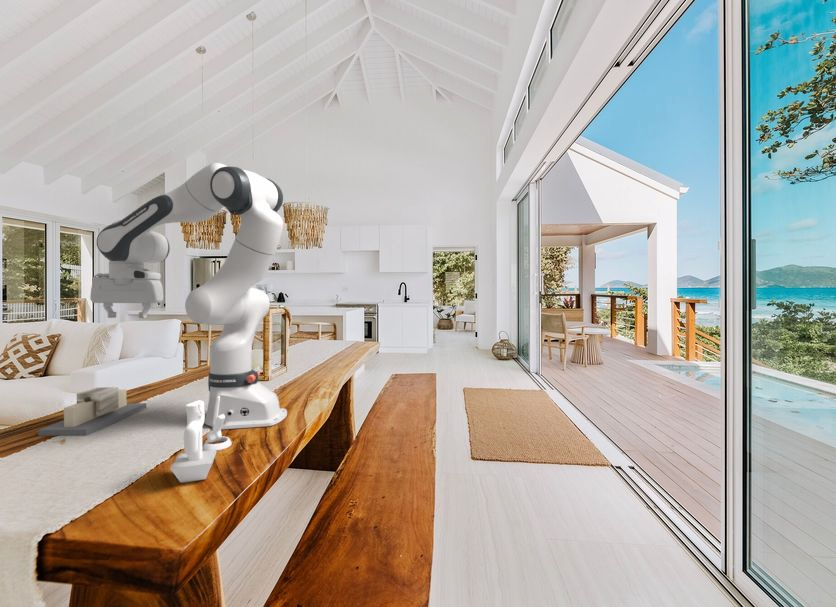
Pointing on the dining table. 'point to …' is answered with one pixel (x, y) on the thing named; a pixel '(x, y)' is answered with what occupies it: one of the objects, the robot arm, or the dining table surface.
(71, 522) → the dining table surface
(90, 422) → the cleat board
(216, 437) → the hook
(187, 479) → the figurine
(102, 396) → the cabinet block
